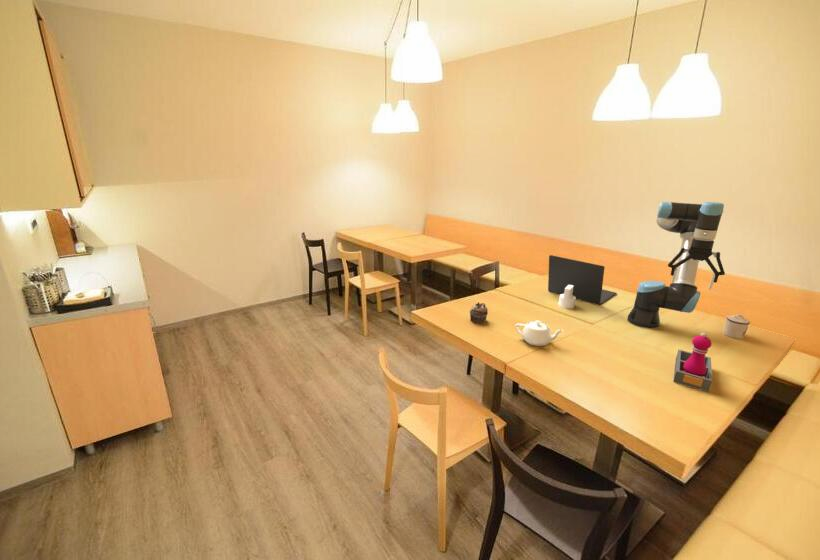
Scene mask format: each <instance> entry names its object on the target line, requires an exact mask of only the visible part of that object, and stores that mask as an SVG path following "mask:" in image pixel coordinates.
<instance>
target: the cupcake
mask: <svg viewBox="0 0 820 560" xmlns="http://www.w3.org/2000/svg"><path fill="white" fill-rule="evenodd" d="M487 317H488V307H487V306H486V303H485V302H481V303H480V302H477V303H475V304H474V305H473V306H472V307H471V309H470V310H469V318H470V321H471V322H473V323H474V324H477V323H478V324H483V323H485V322H486V320H487Z"/></svg>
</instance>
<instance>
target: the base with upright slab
mask: <svg viewBox="0 0 820 560" xmlns="http://www.w3.org/2000/svg"><path fill="white" fill-rule="evenodd" d="M573 287H574V286H573V285H568V286H567V287H566V288H565V291H564V294H559V299H558V303H557V305H558V307H560V308H563V309H567V310H568V309H569V310H570V309H571V310H572V309H574V308H575V305H576V300H577V299H576V297H575V296H573V295H572V293H573Z"/></svg>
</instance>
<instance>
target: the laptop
mask: <svg viewBox="0 0 820 560" xmlns="http://www.w3.org/2000/svg"><path fill="white" fill-rule="evenodd" d="M605 268H606V267H605V266H604V265H600V264H595V263H591V262H585V261H582V260H577V259H571V258H566V257H562V256H557V255H553V254H549V256H548V282H547V284H548V285H547V291H548V292H551V293H554V294H558V295H561V294H564V291H565V288H566V287H567V286H568V285H573V286H574V287H573V293H572V295H573V296H575V297H576V300H579V301H582V302H587V303H590V304H593V303H594V304H593V305H597V306H601V305H602V304H605V302H607V301H608V300H610V299H611V298H613V297H615V296H616V295H617V294H618V293H617V292H615V291H610V290H607V289H604V288H603V286H604V285H603V284H604V276H605Z"/></svg>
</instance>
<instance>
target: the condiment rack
mask: <svg viewBox="0 0 820 560" xmlns="http://www.w3.org/2000/svg"><path fill="white" fill-rule="evenodd" d="M691 355H692V352H690V351H685V350H682V349H678V350H677V353H676V356H675V361H676V362H675V364H674V372H673V383H676V384H680V385H683V386H686V387H689V388H694V389H697V390H701V391H704V392H706V393H709V392H710V390H711V387H712V384H713V373H712V372H713V371H712V358H711V357H710V356H707V355H705V358H704V360H705V365H706V372H705V374H703V375H702V377H700V376H696V375H693V374H689V373H686V372H684V370H685V369H684V367H683V366H684V363H685V362H686V360H687V359H688V358H689V357H690V356H691Z"/></svg>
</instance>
